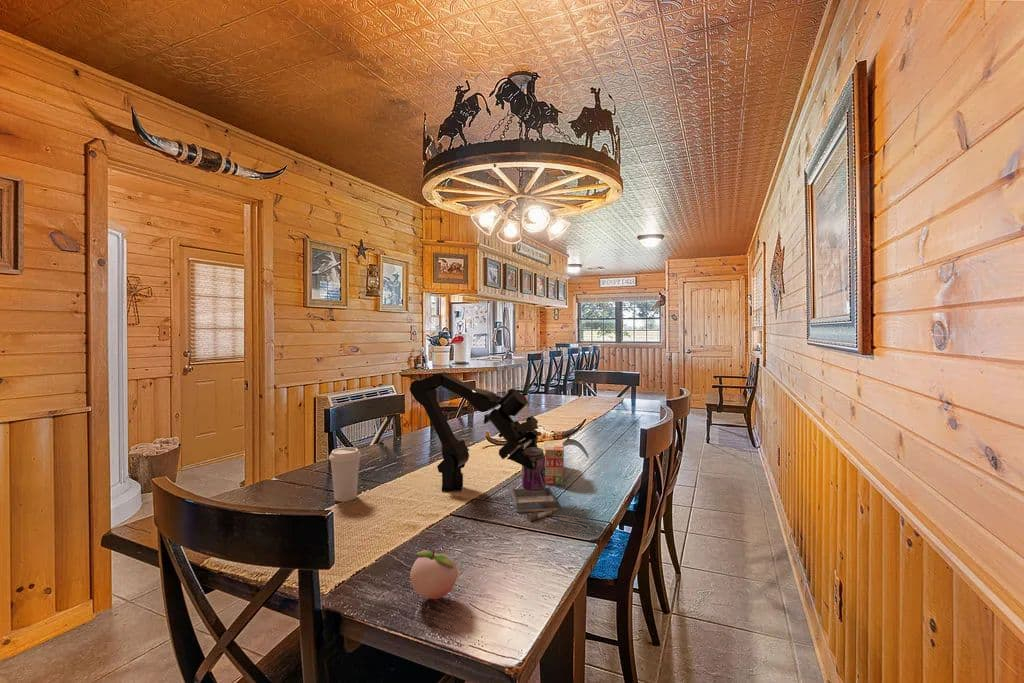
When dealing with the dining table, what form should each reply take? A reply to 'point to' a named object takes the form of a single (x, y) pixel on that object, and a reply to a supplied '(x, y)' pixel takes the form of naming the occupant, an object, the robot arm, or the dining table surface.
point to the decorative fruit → (433, 575)
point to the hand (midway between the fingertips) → (537, 465)
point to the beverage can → (534, 470)
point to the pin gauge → (538, 515)
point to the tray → (534, 500)
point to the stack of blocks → (554, 462)
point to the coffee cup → (345, 473)
